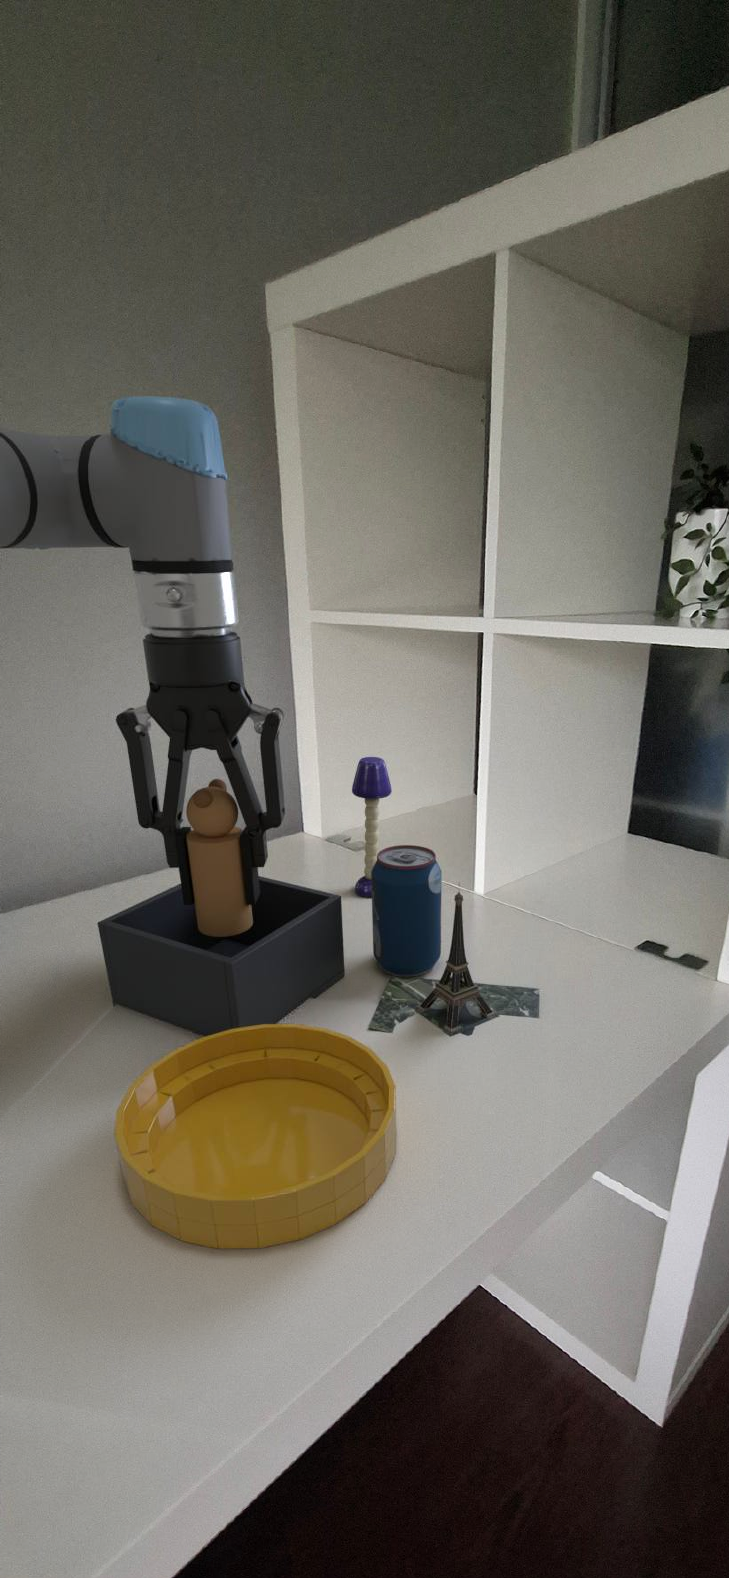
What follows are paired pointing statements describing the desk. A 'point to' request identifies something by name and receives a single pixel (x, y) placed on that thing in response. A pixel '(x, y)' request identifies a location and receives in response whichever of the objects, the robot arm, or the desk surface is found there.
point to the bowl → (257, 1135)
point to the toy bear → (217, 862)
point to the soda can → (406, 910)
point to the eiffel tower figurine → (452, 995)
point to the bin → (224, 959)
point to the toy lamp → (370, 811)
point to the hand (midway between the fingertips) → (222, 898)
